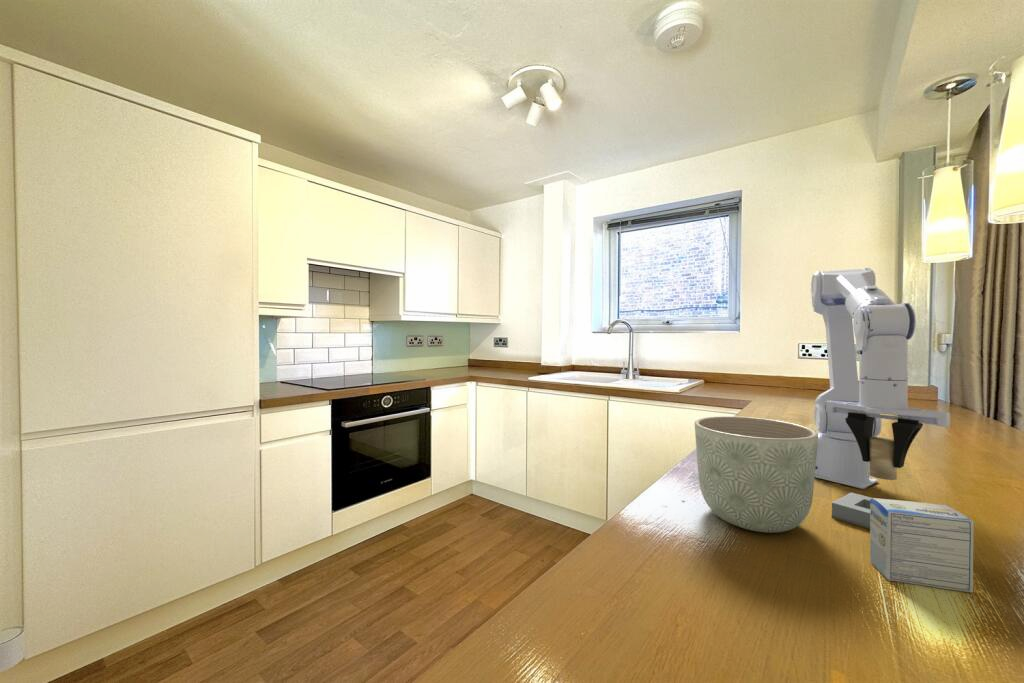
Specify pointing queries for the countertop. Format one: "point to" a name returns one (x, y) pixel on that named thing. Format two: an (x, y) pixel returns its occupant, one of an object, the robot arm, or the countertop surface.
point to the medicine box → (922, 544)
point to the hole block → (853, 509)
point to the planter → (756, 471)
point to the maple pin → (882, 458)
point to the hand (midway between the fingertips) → (882, 463)
